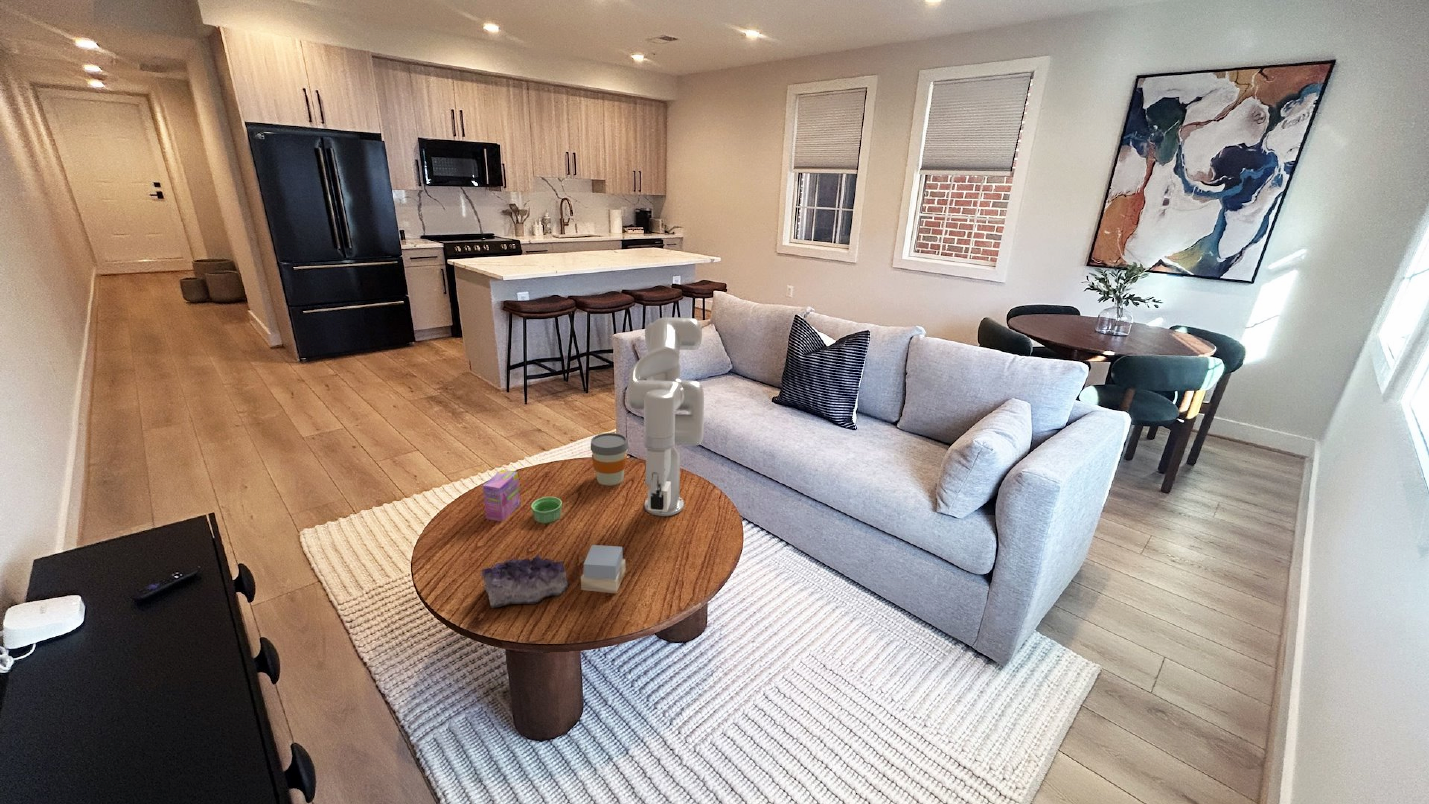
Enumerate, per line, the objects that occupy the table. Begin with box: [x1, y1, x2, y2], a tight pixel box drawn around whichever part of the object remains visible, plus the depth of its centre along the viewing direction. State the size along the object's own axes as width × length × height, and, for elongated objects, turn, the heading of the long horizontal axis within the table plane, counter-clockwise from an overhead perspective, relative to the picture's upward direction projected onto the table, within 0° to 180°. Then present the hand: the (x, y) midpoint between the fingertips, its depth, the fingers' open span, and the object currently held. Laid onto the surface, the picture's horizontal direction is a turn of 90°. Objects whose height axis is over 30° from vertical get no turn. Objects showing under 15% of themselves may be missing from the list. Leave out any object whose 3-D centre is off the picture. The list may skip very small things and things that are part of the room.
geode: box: [480, 554, 569, 609], centre depth 136 cm, size 20×12×10 cm, turn 106°
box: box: [482, 469, 521, 522], centre depth 169 cm, size 10×6×12 cm, turn 168°
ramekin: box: [530, 496, 563, 524], centre depth 169 cm, size 9×9×4 cm
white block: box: [647, 481, 671, 512], centre depth 142 cm, size 5×5×6 cm
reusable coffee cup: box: [590, 432, 629, 486], centre depth 190 cm, size 13×13×15 cm
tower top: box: [583, 544, 624, 579], centre depth 141 cm, size 8×8×4 cm
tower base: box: [580, 558, 626, 594], centre depth 142 cm, size 9×9×4 cm
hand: (659, 502), depth 143 cm, fingers closed on white block, 5 cm apart
